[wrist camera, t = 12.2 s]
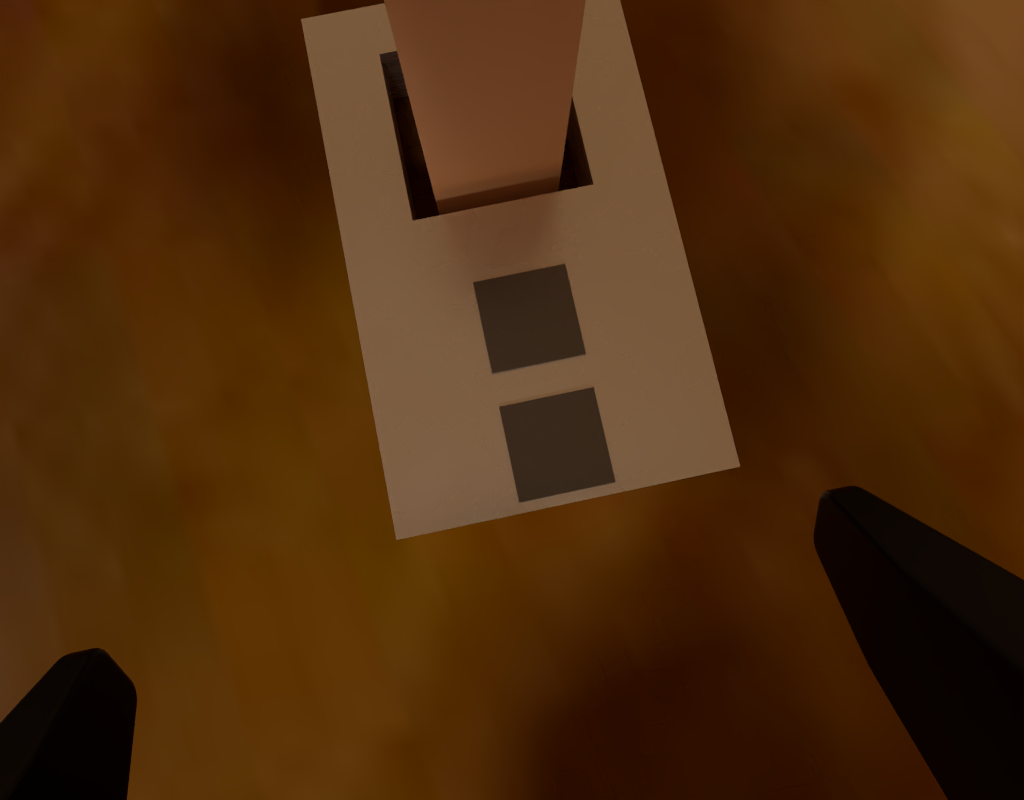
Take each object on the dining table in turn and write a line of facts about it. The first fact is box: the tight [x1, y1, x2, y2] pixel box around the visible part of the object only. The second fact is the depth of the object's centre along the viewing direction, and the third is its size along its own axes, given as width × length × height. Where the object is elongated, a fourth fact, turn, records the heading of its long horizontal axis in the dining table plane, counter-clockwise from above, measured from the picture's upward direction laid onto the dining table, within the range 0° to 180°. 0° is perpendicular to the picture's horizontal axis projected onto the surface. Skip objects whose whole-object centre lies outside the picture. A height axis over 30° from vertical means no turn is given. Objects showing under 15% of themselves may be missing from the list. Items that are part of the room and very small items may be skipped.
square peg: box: [384, 0, 586, 215], centre depth 17 cm, size 4×4×14 cm
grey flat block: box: [301, 0, 740, 540], centre depth 22 cm, size 16×10×3 cm, turn 12°
